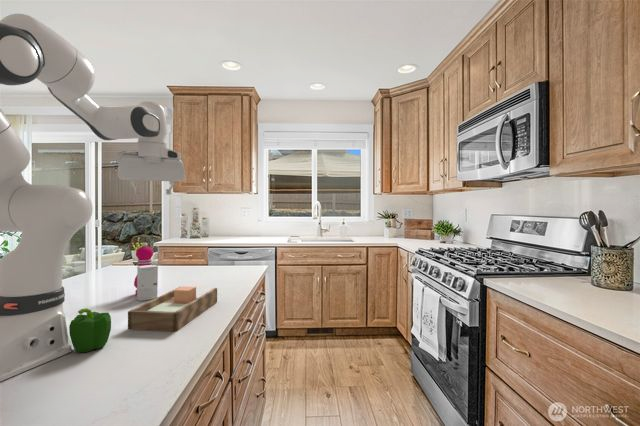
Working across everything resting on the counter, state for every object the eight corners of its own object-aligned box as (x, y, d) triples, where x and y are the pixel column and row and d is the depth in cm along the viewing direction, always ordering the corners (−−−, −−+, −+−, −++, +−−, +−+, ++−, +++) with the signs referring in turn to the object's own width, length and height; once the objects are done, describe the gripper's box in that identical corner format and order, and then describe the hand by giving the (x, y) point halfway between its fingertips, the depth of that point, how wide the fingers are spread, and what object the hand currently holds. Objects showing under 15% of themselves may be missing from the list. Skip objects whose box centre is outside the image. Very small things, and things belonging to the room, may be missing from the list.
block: (188, 302, 105) (188, 290, 105) (174, 302, 106) (174, 290, 106) (196, 298, 110) (196, 286, 110) (181, 298, 111) (181, 286, 111)
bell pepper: (104, 338, 84) (104, 299, 84) (116, 347, 79) (116, 306, 79) (64, 349, 78) (63, 307, 78) (74, 359, 72) (73, 314, 72)
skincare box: (140, 301, 116) (139, 267, 116) (136, 299, 120) (136, 266, 119) (158, 298, 121) (158, 265, 120) (154, 295, 124) (154, 264, 124)
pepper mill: (159, 291, 130) (159, 241, 129) (147, 296, 123) (147, 243, 122) (141, 291, 131) (141, 241, 130) (129, 296, 123) (129, 243, 123)
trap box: (176, 331, 89) (176, 313, 89) (127, 329, 90) (127, 311, 90) (217, 301, 117) (217, 288, 117) (179, 300, 118) (179, 286, 118)
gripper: (115, 149, 101) (116, 193, 102) (185, 154, 111) (186, 194, 112) (116, 151, 107) (117, 194, 107) (183, 156, 117) (184, 194, 117)
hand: (153, 194), depth 110 cm, fingers open, 8 cm apart
